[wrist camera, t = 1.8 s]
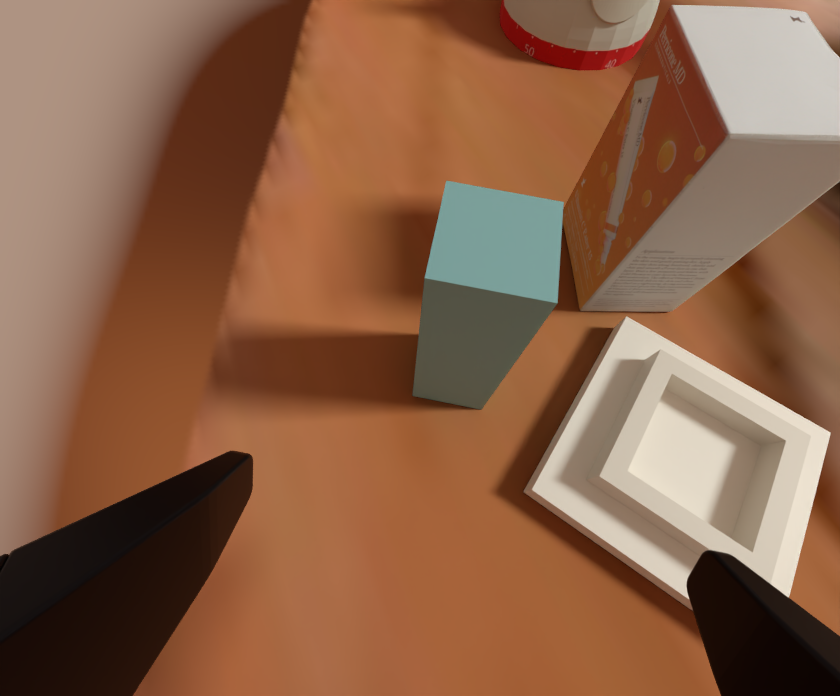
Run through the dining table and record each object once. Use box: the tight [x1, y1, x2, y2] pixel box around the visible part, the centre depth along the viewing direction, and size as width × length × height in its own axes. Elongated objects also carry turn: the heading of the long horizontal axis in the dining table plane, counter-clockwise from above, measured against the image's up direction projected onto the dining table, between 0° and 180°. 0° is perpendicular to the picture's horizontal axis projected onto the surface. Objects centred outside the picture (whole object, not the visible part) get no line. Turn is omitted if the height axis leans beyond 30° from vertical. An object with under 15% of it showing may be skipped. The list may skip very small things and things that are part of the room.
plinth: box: [523, 316, 830, 611], centre depth 21 cm, size 12×12×3 cm
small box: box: [562, 5, 840, 312], centre depth 21 cm, size 8×6×13 cm
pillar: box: [412, 181, 564, 410], centre depth 18 cm, size 4×4×12 cm
